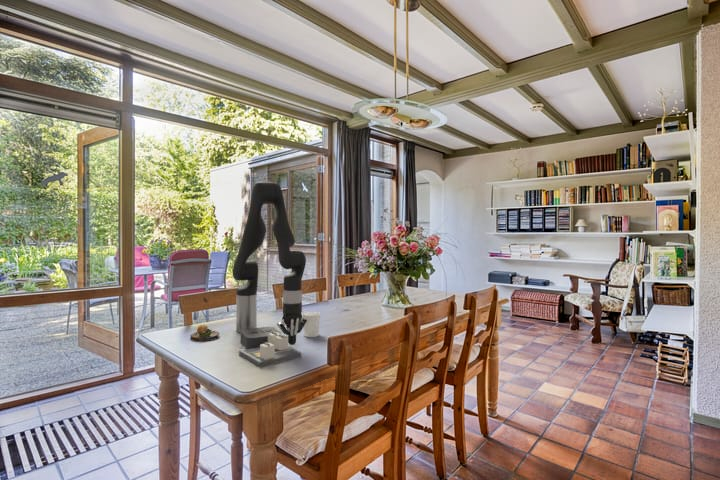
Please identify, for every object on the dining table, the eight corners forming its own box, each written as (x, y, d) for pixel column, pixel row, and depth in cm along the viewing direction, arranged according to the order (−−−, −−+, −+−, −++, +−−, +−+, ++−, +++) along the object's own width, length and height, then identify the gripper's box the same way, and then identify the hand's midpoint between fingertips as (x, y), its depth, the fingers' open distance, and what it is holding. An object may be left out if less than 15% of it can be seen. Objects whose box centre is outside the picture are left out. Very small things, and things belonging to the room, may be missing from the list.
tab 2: (267, 344, 150) (267, 332, 150) (276, 343, 153) (276, 330, 152) (272, 347, 147) (272, 334, 147) (280, 345, 150) (281, 332, 150)
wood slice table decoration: (222, 339, 164) (222, 322, 164) (194, 343, 157) (194, 326, 157) (214, 332, 174) (214, 317, 174) (187, 337, 167) (187, 320, 166)
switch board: (239, 355, 143) (239, 350, 143) (278, 346, 154) (278, 341, 154) (259, 367, 131) (259, 361, 131) (300, 356, 142) (300, 351, 142)
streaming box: (247, 351, 148) (247, 338, 148) (239, 342, 160) (239, 330, 160) (283, 346, 155) (283, 333, 155) (272, 337, 168) (272, 326, 167)
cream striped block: (259, 356, 136) (260, 342, 136) (269, 354, 138) (269, 341, 138) (264, 359, 133) (265, 345, 133) (274, 357, 136) (274, 343, 135)
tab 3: (274, 348, 146) (274, 335, 146) (283, 346, 149) (283, 333, 148) (279, 350, 143) (279, 337, 143) (288, 348, 146) (288, 335, 146)
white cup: (299, 336, 169) (299, 314, 169) (307, 332, 176) (308, 311, 176) (314, 338, 166) (314, 316, 166) (322, 334, 173) (323, 312, 173)
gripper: (301, 297, 156) (300, 339, 156) (272, 301, 147) (272, 345, 147) (311, 300, 150) (311, 343, 151) (282, 304, 141) (282, 350, 142)
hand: (292, 344), depth 149 cm, fingers closed
